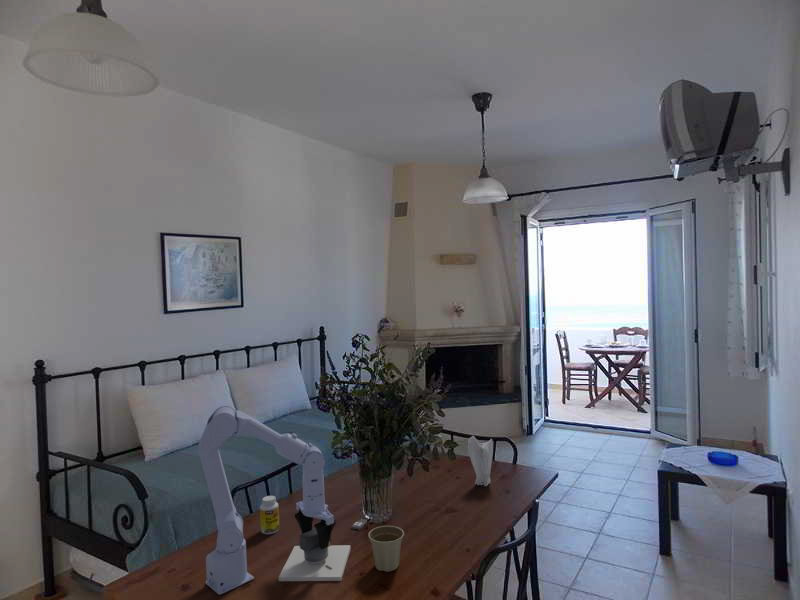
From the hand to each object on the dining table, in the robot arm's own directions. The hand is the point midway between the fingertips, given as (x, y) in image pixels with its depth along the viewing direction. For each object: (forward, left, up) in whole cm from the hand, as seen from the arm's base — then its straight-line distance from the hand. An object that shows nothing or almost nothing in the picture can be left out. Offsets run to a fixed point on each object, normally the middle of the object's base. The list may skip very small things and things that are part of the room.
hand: (315, 543), depth 138 cm
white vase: (+74, -1, -6) cm, 74 cm away
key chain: (+26, +10, -6) cm, 28 cm away
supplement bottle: (+2, +27, -6) cm, 28 cm away
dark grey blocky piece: (0, 0, -3) cm, 3 cm away
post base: (0, 0, -6) cm, 6 cm away
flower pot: (+12, -15, -6) cm, 20 cm away
